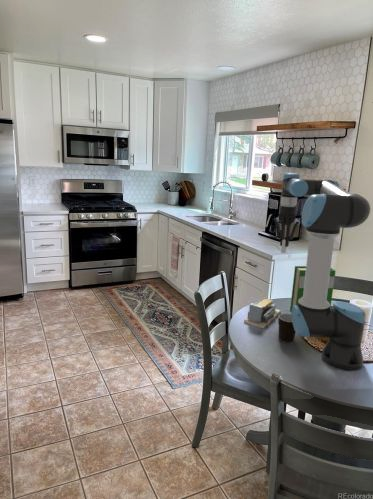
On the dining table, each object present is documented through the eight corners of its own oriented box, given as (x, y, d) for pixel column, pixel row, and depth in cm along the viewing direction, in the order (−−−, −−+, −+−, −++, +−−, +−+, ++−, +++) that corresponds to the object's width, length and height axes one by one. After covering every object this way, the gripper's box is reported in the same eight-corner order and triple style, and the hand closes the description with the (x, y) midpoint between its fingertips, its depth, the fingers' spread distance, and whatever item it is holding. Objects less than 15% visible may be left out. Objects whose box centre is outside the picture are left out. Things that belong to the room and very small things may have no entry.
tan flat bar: (273, 304, 191) (262, 312, 180) (264, 302, 194) (252, 310, 182) (274, 300, 191) (263, 308, 179) (264, 297, 193) (253, 305, 182)
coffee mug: (291, 345, 162) (294, 323, 160) (272, 339, 167) (275, 317, 165) (302, 335, 171) (304, 315, 169) (283, 330, 176) (286, 309, 174)
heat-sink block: (263, 324, 177) (265, 308, 175) (245, 319, 182) (246, 303, 180) (278, 311, 193) (279, 296, 191) (261, 307, 198) (262, 292, 196)
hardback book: (295, 316, 192) (300, 270, 186) (290, 310, 199) (295, 265, 193) (329, 316, 193) (335, 270, 187) (322, 310, 200) (328, 266, 194)
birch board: (263, 328, 177) (264, 325, 177) (243, 322, 182) (244, 319, 182) (280, 312, 195) (280, 310, 195) (262, 308, 200) (262, 305, 200)
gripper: (304, 206, 186) (298, 253, 192) (278, 203, 193) (273, 248, 199) (299, 207, 180) (293, 256, 186) (272, 204, 187) (268, 251, 193)
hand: (283, 252), depth 192 cm, fingers closed
